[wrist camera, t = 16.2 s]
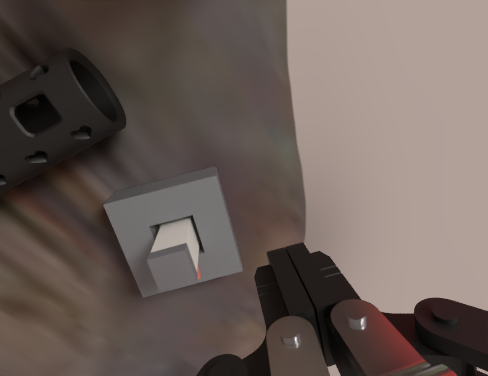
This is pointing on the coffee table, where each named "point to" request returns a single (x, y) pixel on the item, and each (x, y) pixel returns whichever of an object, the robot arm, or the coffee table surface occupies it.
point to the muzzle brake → (53, 116)
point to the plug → (175, 254)
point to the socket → (171, 208)
